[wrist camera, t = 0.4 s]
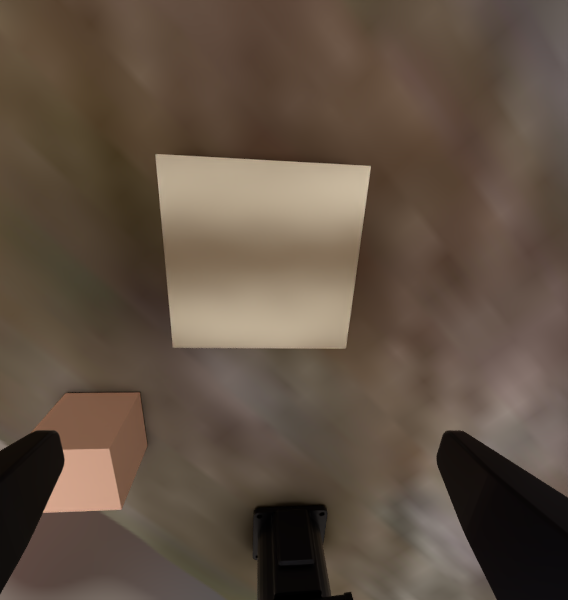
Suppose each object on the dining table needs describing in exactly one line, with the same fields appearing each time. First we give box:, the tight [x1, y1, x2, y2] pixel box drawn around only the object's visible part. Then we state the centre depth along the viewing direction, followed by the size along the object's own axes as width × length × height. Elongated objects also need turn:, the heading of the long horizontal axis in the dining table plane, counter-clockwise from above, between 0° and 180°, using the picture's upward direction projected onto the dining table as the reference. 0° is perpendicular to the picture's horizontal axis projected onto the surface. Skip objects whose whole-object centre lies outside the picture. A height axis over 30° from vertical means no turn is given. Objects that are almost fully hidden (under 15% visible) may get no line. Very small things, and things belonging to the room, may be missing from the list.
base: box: [155, 154, 371, 349], centre depth 18 cm, size 10×10×3 cm
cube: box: [31, 392, 147, 513], centre depth 21 cm, size 5×5×5 cm
